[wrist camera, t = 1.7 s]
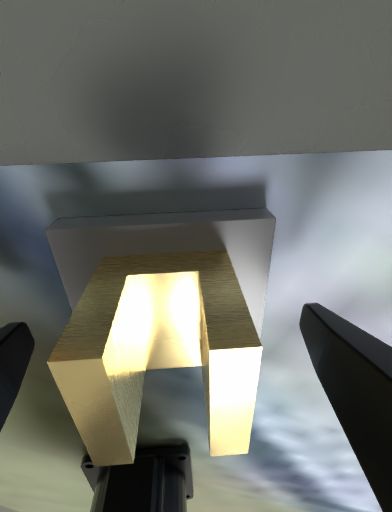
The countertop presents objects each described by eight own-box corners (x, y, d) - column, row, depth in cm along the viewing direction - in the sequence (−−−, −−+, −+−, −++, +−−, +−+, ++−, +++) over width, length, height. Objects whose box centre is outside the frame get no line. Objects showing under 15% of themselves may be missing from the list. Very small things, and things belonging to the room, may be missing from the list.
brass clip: (223, 338, 10) (247, 453, 7) (123, 345, 10) (94, 467, 7) (226, 249, 8) (261, 346, 5) (102, 256, 8) (46, 362, 5)
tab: (252, 335, 12) (258, 352, 11) (97, 345, 11) (90, 365, 11) (266, 208, 9) (276, 218, 8) (58, 218, 9) (44, 230, 8)
